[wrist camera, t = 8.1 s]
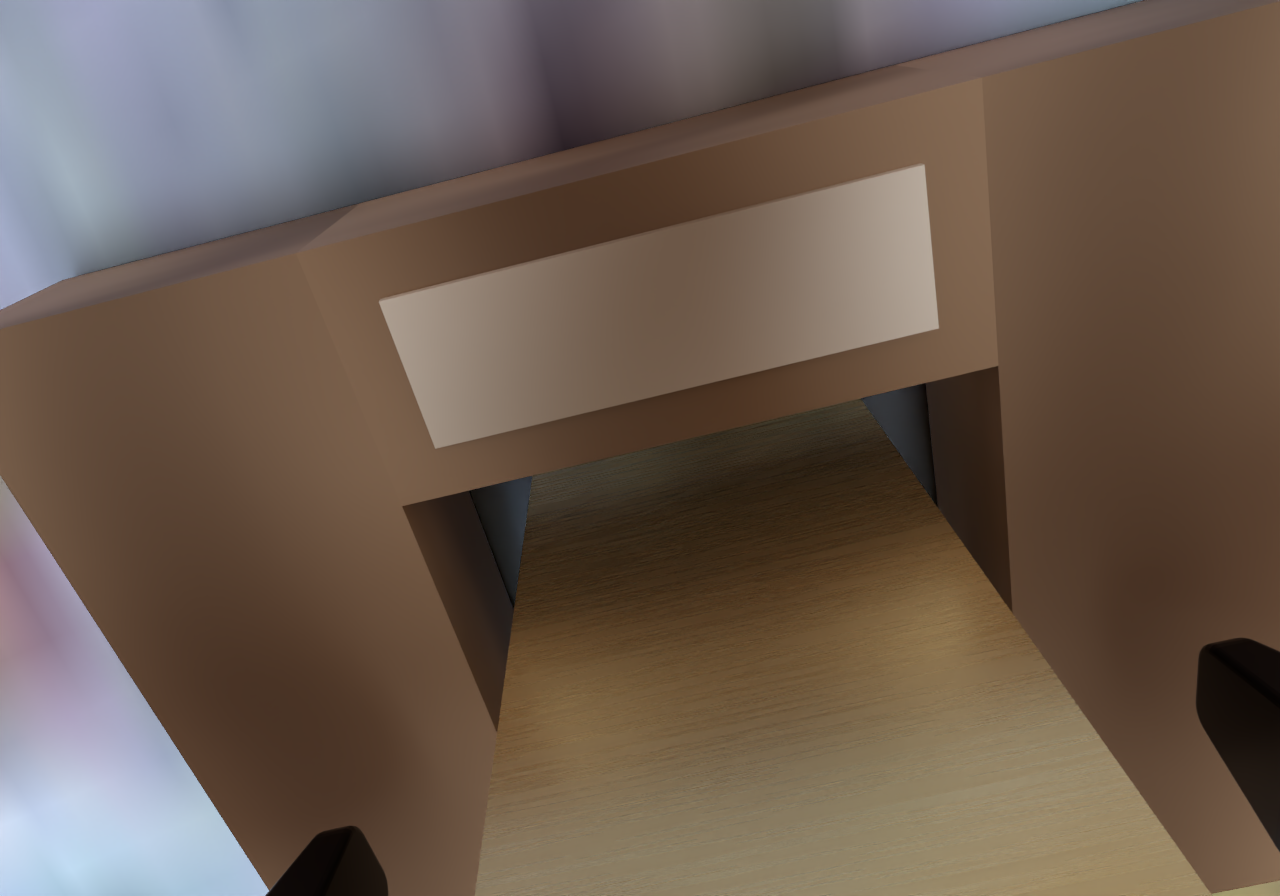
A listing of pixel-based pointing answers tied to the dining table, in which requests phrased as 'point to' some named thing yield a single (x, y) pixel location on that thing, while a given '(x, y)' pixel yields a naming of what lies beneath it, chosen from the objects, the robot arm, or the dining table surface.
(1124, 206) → the rack plate
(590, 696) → the peg block
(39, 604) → the dining table surface
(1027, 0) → the dining table surface
